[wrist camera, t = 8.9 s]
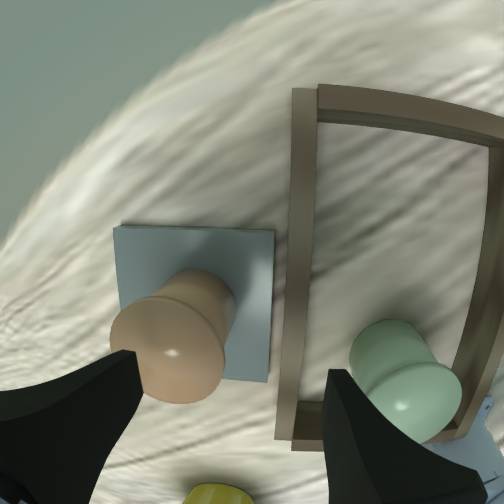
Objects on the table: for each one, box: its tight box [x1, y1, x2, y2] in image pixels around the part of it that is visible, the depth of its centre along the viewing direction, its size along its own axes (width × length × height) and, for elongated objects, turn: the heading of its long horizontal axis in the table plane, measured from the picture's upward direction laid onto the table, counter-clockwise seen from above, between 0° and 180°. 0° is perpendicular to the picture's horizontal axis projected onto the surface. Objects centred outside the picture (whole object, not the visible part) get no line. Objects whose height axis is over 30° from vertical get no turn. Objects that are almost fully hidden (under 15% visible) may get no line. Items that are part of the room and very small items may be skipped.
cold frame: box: [274, 84, 504, 452], centre depth 17 cm, size 21×14×4 cm
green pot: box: [349, 319, 462, 444], centre depth 17 cm, size 6×6×6 cm
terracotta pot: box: [110, 269, 236, 404], centre depth 17 cm, size 6×6×6 cm
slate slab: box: [113, 225, 275, 383], centre depth 20 cm, size 10×10×1 cm
